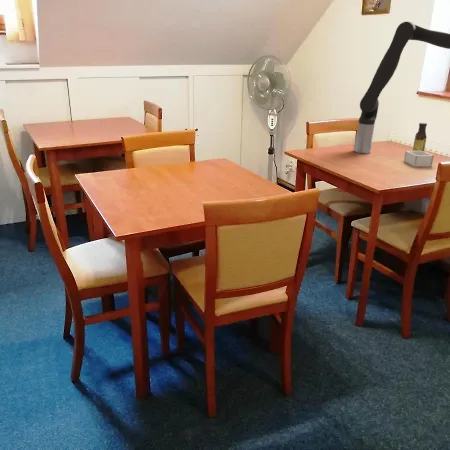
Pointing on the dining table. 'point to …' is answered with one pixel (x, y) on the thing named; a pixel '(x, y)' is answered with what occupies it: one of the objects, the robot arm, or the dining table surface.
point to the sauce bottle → (420, 138)
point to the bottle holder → (418, 158)
